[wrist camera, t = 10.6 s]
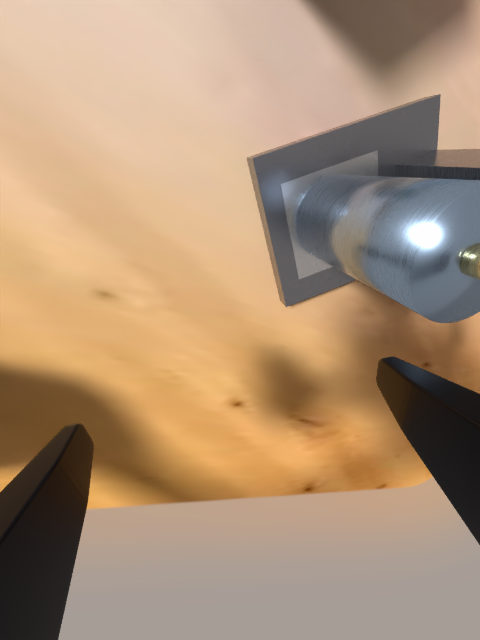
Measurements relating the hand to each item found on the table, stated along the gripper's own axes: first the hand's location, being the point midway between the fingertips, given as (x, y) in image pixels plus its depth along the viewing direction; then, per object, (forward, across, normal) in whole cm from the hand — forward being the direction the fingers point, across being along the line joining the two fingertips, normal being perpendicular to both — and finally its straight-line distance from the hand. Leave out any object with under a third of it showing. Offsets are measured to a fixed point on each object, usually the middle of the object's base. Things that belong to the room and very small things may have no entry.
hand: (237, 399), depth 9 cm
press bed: (+14, -10, +1) cm, 17 cm away
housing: (+13, -8, -1) cm, 15 cm away
